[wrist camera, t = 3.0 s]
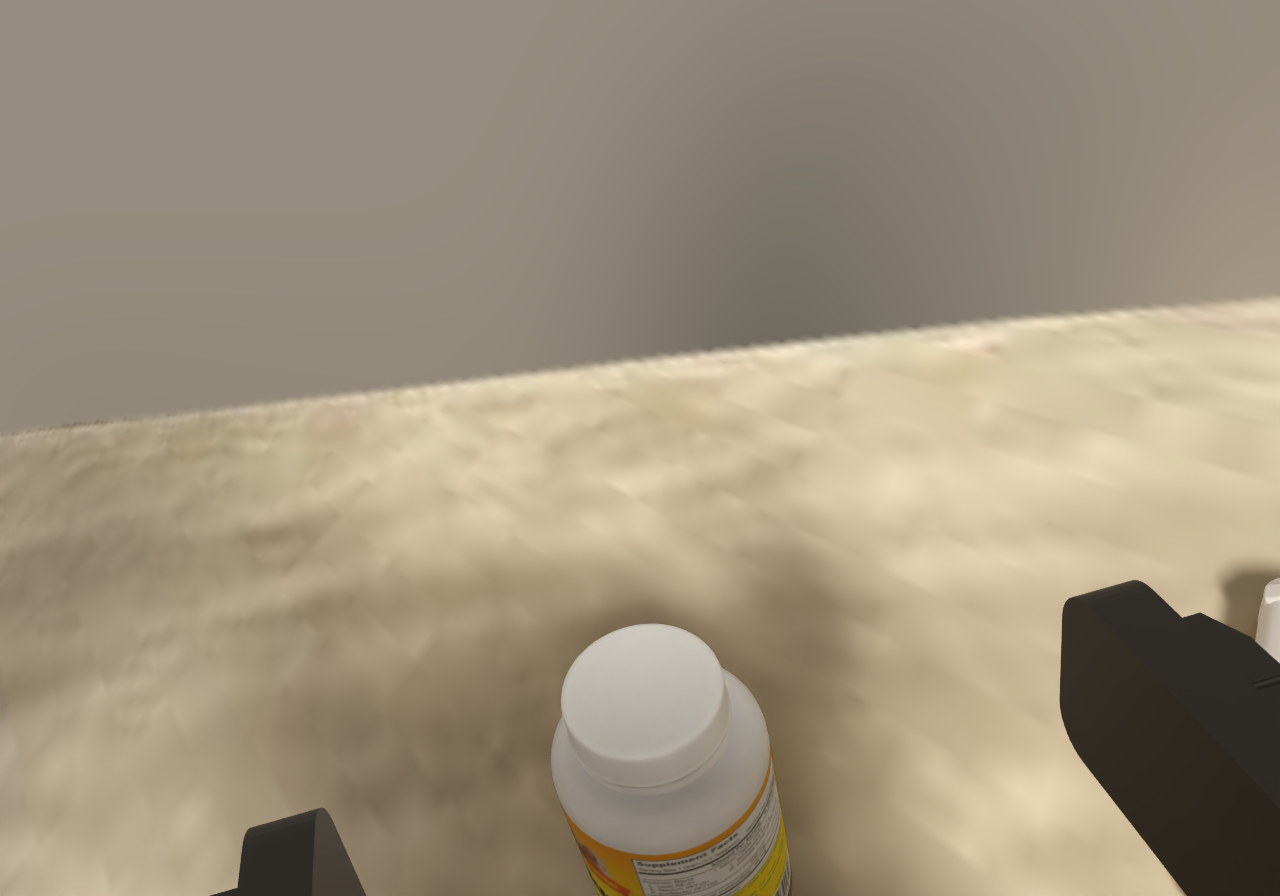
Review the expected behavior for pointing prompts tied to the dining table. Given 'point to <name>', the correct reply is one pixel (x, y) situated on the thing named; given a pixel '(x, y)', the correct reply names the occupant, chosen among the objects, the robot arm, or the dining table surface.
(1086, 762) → the robot arm
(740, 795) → the supplement bottle
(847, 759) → the dining table surface
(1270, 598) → the white brass knuckles
